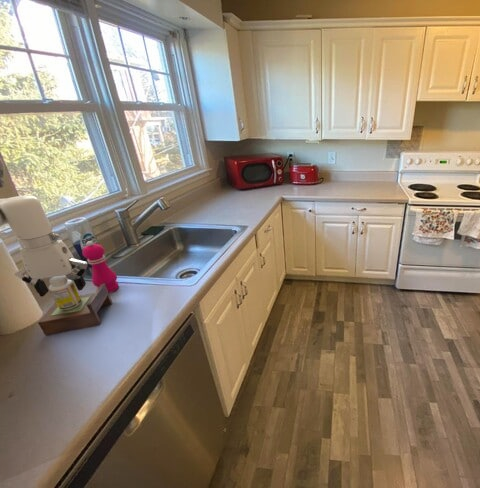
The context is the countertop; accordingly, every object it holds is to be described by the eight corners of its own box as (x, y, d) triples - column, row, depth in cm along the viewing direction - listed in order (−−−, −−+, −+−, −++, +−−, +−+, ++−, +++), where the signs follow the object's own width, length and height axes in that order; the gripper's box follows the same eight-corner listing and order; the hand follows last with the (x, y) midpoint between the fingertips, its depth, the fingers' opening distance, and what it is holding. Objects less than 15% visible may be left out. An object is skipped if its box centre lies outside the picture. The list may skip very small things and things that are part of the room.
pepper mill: (109, 295, 102) (88, 246, 93) (92, 293, 103) (70, 245, 94) (125, 284, 108) (107, 237, 99) (109, 282, 109) (89, 236, 101)
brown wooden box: (45, 335, 84) (32, 314, 80) (64, 311, 94) (54, 291, 91) (100, 324, 88) (90, 304, 84) (112, 302, 98) (104, 283, 95)
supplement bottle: (73, 298, 92) (60, 272, 87) (86, 301, 90) (74, 274, 86) (55, 309, 87) (40, 281, 82) (68, 312, 85) (53, 284, 81)
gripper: (81, 231, 84) (101, 279, 92) (8, 239, 79) (35, 289, 87) (69, 241, 78) (92, 292, 85) (-11, 250, 73) (21, 304, 80)
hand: (63, 290), depth 86 cm, fingers open, 9 cm apart
